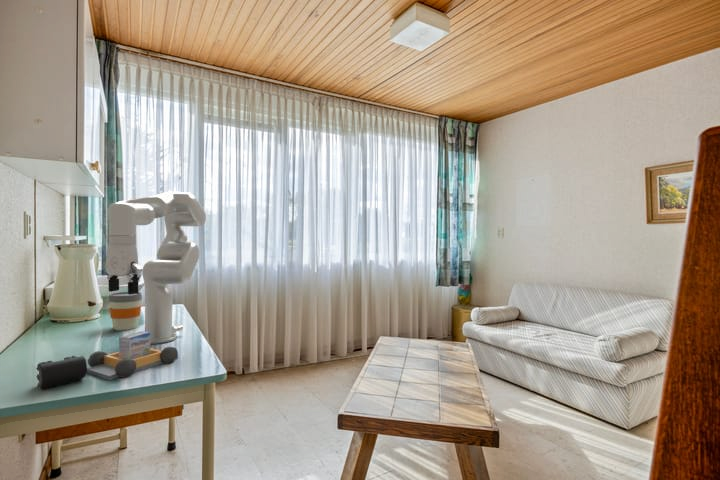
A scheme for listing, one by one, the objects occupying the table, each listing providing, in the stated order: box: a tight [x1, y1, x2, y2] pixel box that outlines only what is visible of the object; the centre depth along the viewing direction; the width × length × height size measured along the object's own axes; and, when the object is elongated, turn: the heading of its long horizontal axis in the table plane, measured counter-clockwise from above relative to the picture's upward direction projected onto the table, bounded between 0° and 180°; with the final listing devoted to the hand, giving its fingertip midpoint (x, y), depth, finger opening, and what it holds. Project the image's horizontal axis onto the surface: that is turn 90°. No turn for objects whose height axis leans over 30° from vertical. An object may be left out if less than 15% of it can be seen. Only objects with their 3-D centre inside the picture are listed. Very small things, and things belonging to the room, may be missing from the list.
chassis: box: [86, 344, 179, 381], centre depth 120 cm, size 22×16×5 cm
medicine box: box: [118, 330, 150, 360], centre depth 120 cm, size 8×4×9 cm, turn 162°
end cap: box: [36, 355, 88, 390], centre depth 105 cm, size 10×7×7 cm
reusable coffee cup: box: [108, 291, 143, 331], centre depth 167 cm, size 13×13×15 cm
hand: (123, 292), depth 125 cm, fingers open, 9 cm apart
